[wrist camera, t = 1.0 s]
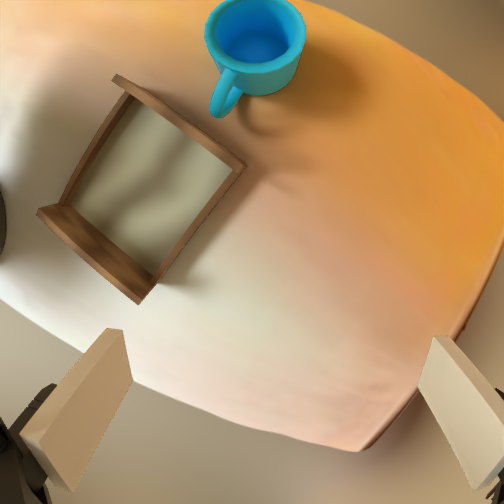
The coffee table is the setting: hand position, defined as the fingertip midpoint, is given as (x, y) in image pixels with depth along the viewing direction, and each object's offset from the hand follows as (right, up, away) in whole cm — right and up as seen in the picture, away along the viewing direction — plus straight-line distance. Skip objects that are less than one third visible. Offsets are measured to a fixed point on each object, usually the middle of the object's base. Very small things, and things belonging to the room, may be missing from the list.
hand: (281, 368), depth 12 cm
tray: (-13, +12, +20) cm, 26 cm away
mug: (-1, +23, +17) cm, 28 cm away
